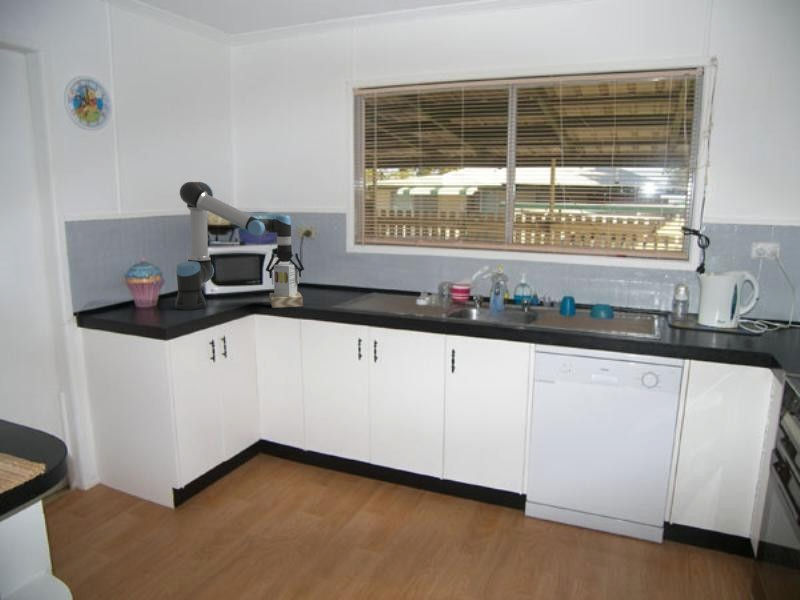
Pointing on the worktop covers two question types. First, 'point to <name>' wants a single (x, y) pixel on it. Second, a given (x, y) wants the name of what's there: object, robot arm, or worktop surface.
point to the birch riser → (286, 300)
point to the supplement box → (285, 280)
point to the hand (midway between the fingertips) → (285, 283)
